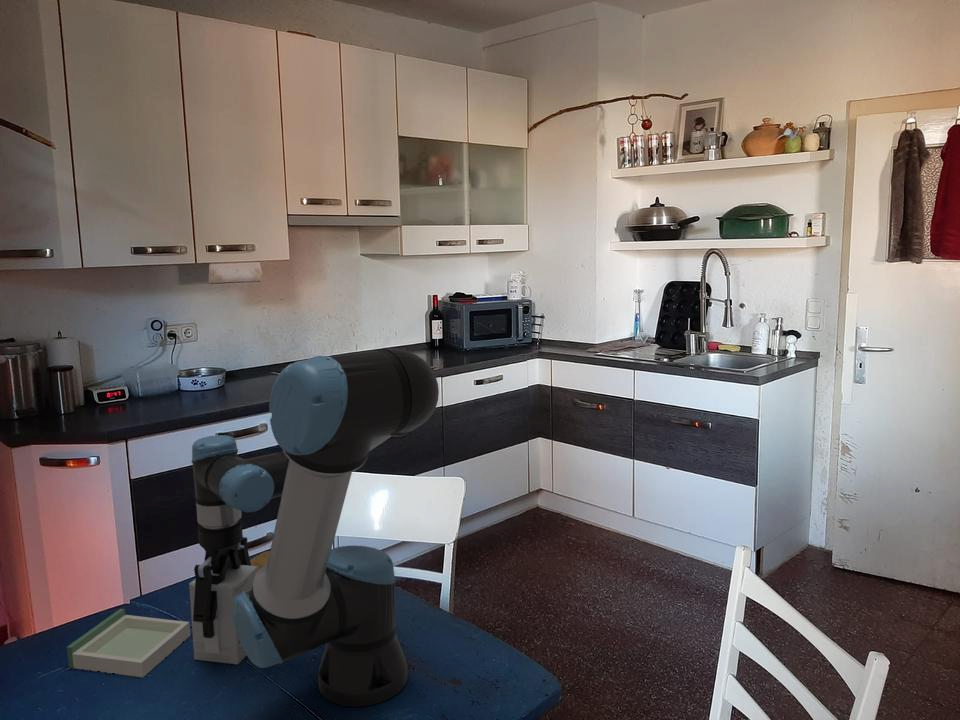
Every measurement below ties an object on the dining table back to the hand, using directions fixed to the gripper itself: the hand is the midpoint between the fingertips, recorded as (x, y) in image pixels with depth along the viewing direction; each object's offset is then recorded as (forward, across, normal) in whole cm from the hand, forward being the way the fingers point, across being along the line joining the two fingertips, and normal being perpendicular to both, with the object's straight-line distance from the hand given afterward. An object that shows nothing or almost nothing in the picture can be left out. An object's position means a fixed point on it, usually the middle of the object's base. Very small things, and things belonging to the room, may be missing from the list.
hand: (228, 637), depth 137 cm
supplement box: (+3, 0, 0) cm, 3 cm away
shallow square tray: (+2, +4, -17) cm, 18 cm away
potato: (+3, -22, -5) cm, 23 cm away
